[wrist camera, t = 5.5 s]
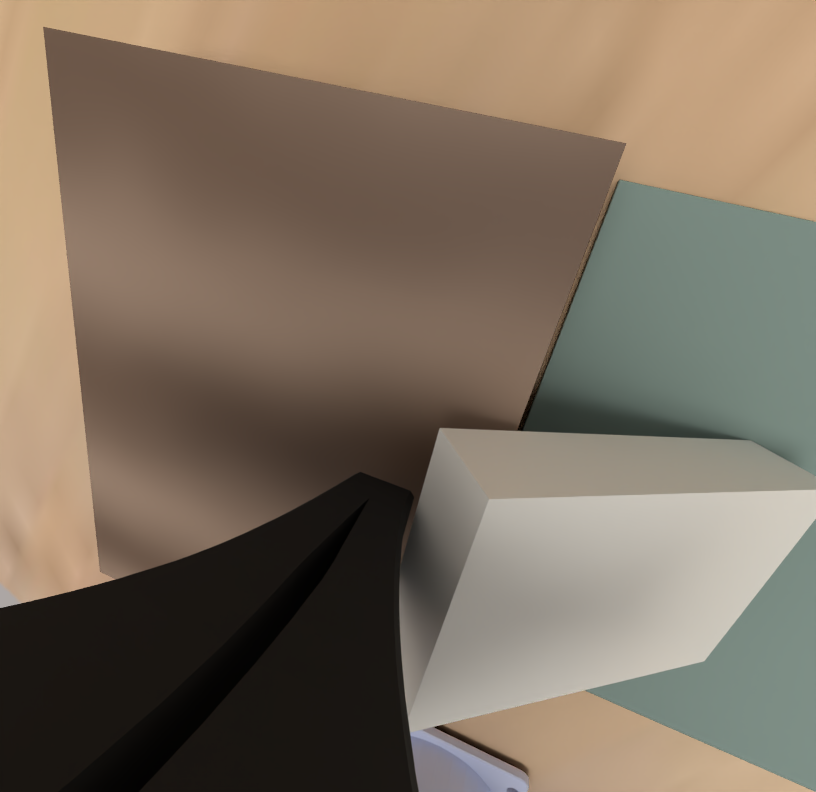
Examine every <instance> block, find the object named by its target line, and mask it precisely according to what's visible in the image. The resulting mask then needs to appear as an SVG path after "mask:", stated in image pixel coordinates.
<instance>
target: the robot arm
mask: <svg viewBox="0 0 816 792" xmlns="http://www.w3.org/2000/svg"><path fill="white" fill-rule="evenodd" d="M413 500H414V496H413V494H412V492H411V491H410V490H407V489H405V488H402V487H399V486H397V485H394V484H391V483H389V482H386V481H383V480H381V479H378V478H376V477H373V476H370V475H368V474H365V473H362V472H359V473H357V474H354V475H353V476H351V477H349V478H348V479H346V480H344V481H343V482H341V483H339V484H338V485H336V486H334V487H332V488H331V489H329V490H327V491H326V492H324V493H322V494H320V495H319V496H317V497H315V498H313V499H311V500H310V501H308V502H306V503H304V504H302V505H300V506H298V507H297V508H295V509H293V510H291V511H289V512H287V513H285V514H283V515H281V516H280V517H278V518H275V519H273V520H271V521H269V522H267V523H265V524H263V525H261V526H259V527H256V528H254V529H252V530H250V531H248V532H246V533H244V534H242V535H239V536H237V537H235V538H232V539H230V540H228V541H225V542H223V543H221V544H218V545H216V546H213V547H211V548H208V549H205V550H203V551H200V552H198V553H195V554H192V555H190V556H187V557H184V558H182V559H179V560H176V561H173V562H170V563H167V564H164V565H160V566H157V567H154V568H151V569H148V570H144V571H141V572H138V573H135V574H132V575H128V576H125V577H122V578H119V579H116V580H112V581H109V582H105V583H102V584H98V585H94V586H90V587H87V588H83V589H79V590H75V591H71V592H68V593H63V594H59V595H55V596H51V597H47V598H43V599H38V600H34V601H30V602H26V603H21V604H17V605H13V606H8V607H4V608H0V792H527V791H528V789H529V778H528V776H527V775H526V773H525V772H523V771H522V770H520V769H518V768H516V767H514V766H512V765H510V764H508V763H506V762H504V761H502V760H500V759H498V758H495V757H493V756H491V755H489V754H487V753H485V752H483V751H481V750H479V749H477V748H475V747H473V746H471V745H469V744H467V743H465V742H463V741H461V740H458V739H456V738H454V737H452V736H450V735H448V734H446V733H444V732H442V731H440V730H438V729H436V728H434V727H431V728H427V729H423V730H418V731H414V732H410V728H409V721H408V714H407V706H406V699H405V689H404V678H403V667H402V655H401V639H400V613H399V583H400V562H401V550H402V540H403V535H404V532H405V528H406V525H407V521H408V518H409V514H410V510H411V507H412V503H413Z"/></svg>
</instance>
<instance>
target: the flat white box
mask: <svg viewBox="0 0 816 792" xmlns="http://www.w3.org/2000/svg"><path fill="white" fill-rule="evenodd" d="M815 519H816V476H815V475H813V474H811V473H809V472H807V471H805V470H804V469H802V468H800V467H798V466H796V465H795V464H793V463H791V462H789V461H787V460H785V459H784V458H782V457H780V456H778V455H776V454H775V453H773V452H771V451H769V450H767V449H765V448H764V447H762V446H760V445H758V444H756V443H755V442H753V441H751V440H731V439H706V438H680V437H655V436H630V435H605V434H580V433H554V432H529V431H504V430H479V429H454V428H440V429H439V432H438V436H437V439H436V443H435V446H434V450H433V453H432V457H431V460H430V464H429V467H428V471H427V474H426V478H425V481H424V485H423V488H422V492H421V495H420V499H419V502H418V506H417V509H416V513H415V516H414V520H413V523H412V527H411V530H410V534H409V537H408V541H407V544H406V548H405V551H404V555H403V558H402V562H401V565H400V583H399V613H400V639H401V655H402V667H403V678H404V689H405V699H406V706H407V714H408V721H409V728H410V732H414V731H418V730H423V729H427V728H431V727H435V726H439V725H443V724H447V723H452V722H456V721H460V720H464V719H468V718H472V717H476V716H480V715H485V714H489V713H493V712H497V711H501V710H505V709H509V708H514V707H518V706H522V705H526V704H530V703H534V702H538V701H542V700H547V699H551V698H555V697H559V696H563V695H567V694H571V693H575V692H580V691H584V690H588V689H592V688H596V687H600V686H604V685H609V684H613V683H617V682H621V681H625V680H629V679H633V678H637V677H642V676H646V675H650V674H654V673H658V672H662V671H666V670H671V669H675V668H679V667H683V666H687V665H691V664H695V663H699V662H704V661H705V660H706V658H707V657H708V656H709V655H710V653H711V652H712V651H713V649H714V648H715V647H716V646H717V644H718V643H719V642H720V641H721V639H722V638H723V637H724V635H725V634H726V633H727V632H728V630H729V629H730V628H731V626H732V625H733V624H734V623H735V621H736V620H737V619H738V618H739V616H740V615H741V614H742V612H743V611H744V610H745V609H746V607H747V606H748V605H749V603H750V602H751V601H752V600H753V598H754V597H755V596H756V595H757V593H758V592H759V591H760V589H761V588H762V587H763V586H764V584H765V583H766V582H767V580H768V579H769V578H770V577H771V575H772V574H773V573H774V572H775V570H776V569H777V568H778V566H779V565H780V564H781V563H782V561H783V560H784V559H785V557H786V556H787V555H788V554H789V552H790V551H791V550H792V549H793V547H794V546H795V545H796V543H797V542H798V541H799V540H800V538H801V537H802V536H803V534H804V533H805V532H806V531H807V529H808V528H809V527H810V526H811V524H812V523H813V522H814V520H815Z"/></svg>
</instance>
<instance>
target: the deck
mask: <svg viewBox="0 0 816 792" xmlns="http://www.w3.org/2000/svg"><path fill="white" fill-rule="evenodd" d="M43 29H44V38H45V48H46V58H47V67H48V77H49V86H50V96H51V106H52V115H53V125H54V134H55V144H56V154H57V163H58V173H59V182H60V192H61V202H62V211H63V221H64V230H65V240H66V250H67V259H68V269H69V278H70V288H71V297H72V307H73V317H74V326H75V336H76V345H77V355H78V365H79V374H80V384H81V393H82V403H83V413H84V422H85V432H86V441H87V451H88V461H89V470H90V480H91V489H92V499H93V509H94V518H95V528H96V537H97V547H98V557H99V566H100V572H102V573H104V574H106V575H108V576H110V577H112V578H114V579H119V578H122V577H125V576H128V575H132V574H135V573H138V572H141V571H144V570H148V569H151V568H154V567H157V566H160V565H164V564H167V563H170V562H173V561H176V560H179V559H182V558H184V557H187V556H190V555H192V554H195V553H198V552H200V551H203V550H205V549H208V548H211V547H213V546H216V545H218V544H221V543H223V542H225V541H228V540H230V539H232V538H235V537H237V536H239V535H242V534H244V533H246V532H248V531H250V530H252V529H254V528H256V527H259V526H261V525H263V524H265V523H267V522H269V521H271V520H273V519H275V518H278V517H280V516H281V515H283V514H285V513H287V512H289V511H291V510H293V509H295V508H297V507H298V506H300V505H302V504H304V503H306V502H308V501H310V500H311V499H313V498H315V497H317V496H319V495H320V494H322V493H324V492H326V491H327V490H329V489H331V488H332V487H334V486H336V485H338V484H339V483H341V482H343V481H344V480H346V479H348V478H349V477H351V476H353V475H354V474H357V473H359V472H362V473H365V474H368V475H370V476H373V477H376V478H378V479H381V480H383V481H386V482H389V483H391V484H394V485H397V486H399V487H402V488H405V489H407V490H410V491H411V492H412V494H413V496H414V500H413V503H412V507H411V510H410V514H409V518H408V521H407V525H406V528H405V532H404V535H403V540H402V550H401V562H402V558H403V555H404V551H405V548H406V544H407V541H408V537H409V534H410V530H411V527H412V523H413V520H414V516H415V513H416V509H417V506H418V502H419V499H420V495H421V492H422V488H423V485H424V481H425V478H426V474H427V471H428V467H429V464H430V460H431V457H432V453H433V450H434V446H435V443H436V439H437V436H438V432H439V429H440V428H454V429H479V430H504V431H517V429H518V426H519V424H520V421H521V418H522V416H523V413H524V411H525V408H526V405H527V403H528V400H529V397H530V395H531V392H532V390H533V387H534V384H535V382H536V379H537V376H538V374H539V371H540V369H541V366H542V363H543V361H544V358H545V355H546V353H547V350H548V348H549V345H550V342H551V340H552V337H553V334H554V332H555V329H556V327H557V324H558V321H559V319H560V316H561V313H562V311H563V308H564V306H565V303H566V300H567V298H568V295H569V293H570V290H571V287H572V285H573V282H574V279H575V277H576V274H577V272H578V269H579V266H580V264H581V261H582V258H583V256H584V253H585V251H586V248H587V245H588V243H589V240H590V237H591V235H592V232H593V230H594V227H595V224H596V222H597V219H598V216H599V214H600V211H601V209H602V206H603V203H604V201H605V198H606V195H607V193H608V190H609V188H610V185H611V182H612V180H613V177H614V174H615V172H616V169H617V167H618V164H619V161H620V159H621V156H622V153H623V151H624V148H625V146H626V143H622V142H617V141H612V140H607V139H602V138H597V137H592V136H587V135H582V134H577V133H572V132H567V131H562V130H557V129H552V128H547V127H542V126H537V125H532V124H527V123H522V122H517V121H512V120H507V119H502V118H497V117H492V116H487V115H482V114H477V113H472V112H467V111H462V110H457V109H452V108H447V107H442V106H437V105H432V104H426V103H421V102H416V101H411V100H406V99H401V98H396V97H391V96H386V95H381V94H376V93H371V92H366V91H361V90H356V89H351V88H346V87H341V86H336V85H331V84H326V83H321V82H316V81H311V80H306V79H301V78H296V77H291V76H286V75H281V74H276V73H271V72H266V71H261V70H256V69H251V68H246V67H241V66H236V65H231V64H226V63H221V62H216V61H211V60H206V59H201V58H196V57H191V56H186V55H181V54H176V53H171V52H166V51H161V50H156V49H151V48H146V47H141V46H136V45H131V44H126V43H121V42H116V41H111V40H106V39H101V38H96V37H91V36H86V35H81V34H76V33H71V32H66V31H61V30H56V29H51V28H46V27H43ZM401 562H400V565H401Z"/></svg>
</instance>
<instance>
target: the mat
mask: <svg viewBox="0 0 816 792" xmlns="http://www.w3.org/2000/svg"><path fill="white" fill-rule="evenodd" d="M522 431H529V432H554V433H580V434H605V435H630V436H655V437H680V438H706V439H731V440H751V441H753V442H755V443H756V444H758V445H760V446H762V447H764V448H765V449H767V450H769V451H771V452H773V453H775V454H776V455H778V456H780V457H782V458H784V459H785V460H787V461H789V462H791V463H793V464H795V465H796V466H798V467H800V468H802V469H804V470H805V471H807V472H809V473H811V474H813V475H815V476H816V222H813V221H809V220H804V219H799V218H795V217H790V216H786V215H781V214H776V213H772V212H767V211H762V210H758V209H753V208H748V207H744V206H739V205H735V204H730V203H725V202H721V201H716V200H711V199H707V198H702V197H697V196H693V195H688V194H684V193H679V192H674V191H670V190H665V189H660V188H656V187H651V186H646V185H642V184H637V183H633V182H628V181H623V180H619V181H618V183H617V185H616V188H615V191H614V193H613V196H612V198H611V201H610V204H609V206H608V209H607V211H606V214H605V216H604V219H603V222H602V224H601V227H600V229H599V232H598V235H597V237H596V240H595V242H594V245H593V248H592V250H591V253H590V255H589V258H588V260H587V263H586V266H585V268H584V271H583V273H582V276H581V279H580V281H579V284H578V286H577V289H576V291H575V294H574V297H573V299H572V302H571V304H570V307H569V310H568V312H567V315H566V317H565V320H564V323H563V325H562V328H561V330H560V333H559V335H558V338H557V341H556V343H555V346H554V348H553V351H552V354H551V356H550V359H549V361H548V364H547V366H546V369H545V372H544V374H543V377H542V379H541V382H540V385H539V387H538V390H537V392H536V395H535V398H534V400H533V403H532V405H531V408H530V410H529V413H528V416H527V418H526V421H525V423H524V426H523V429H522ZM585 691H587V692H590V693H592V694H594V695H596V696H599V697H601V698H603V699H605V700H608V701H610V702H612V703H615V704H617V705H619V706H621V707H624V708H626V709H628V710H631V711H633V712H635V713H637V714H640V715H642V716H644V717H647V718H649V719H651V720H653V721H656V722H658V723H660V724H662V725H665V726H667V727H669V728H672V729H674V730H676V731H678V732H681V733H683V734H685V735H688V736H690V737H692V738H694V739H697V740H699V741H701V742H704V743H706V744H708V745H710V746H713V747H715V748H717V749H719V750H722V751H724V752H726V753H729V754H731V755H733V756H735V757H738V758H740V759H742V760H745V761H747V762H749V763H751V764H754V765H756V766H758V767H761V768H763V769H765V770H767V771H770V772H772V773H774V774H776V775H779V776H781V777H783V778H786V779H788V780H790V781H792V782H795V783H797V784H799V785H802V786H804V787H806V788H808V789H811V790H813V791H816V519H815V520H814V522H813V523H812V524H811V526H810V527H809V528H808V529H807V531H806V532H805V533H804V534H803V536H802V537H801V538H800V540H799V541H798V542H797V543H796V545H795V546H794V547H793V549H792V550H791V551H790V552H789V554H788V555H787V556H786V557H785V559H784V560H783V561H782V563H781V564H780V565H779V566H778V568H777V569H776V570H775V572H774V573H773V574H772V575H771V577H770V578H769V579H768V580H767V582H766V583H765V584H764V586H763V587H762V588H761V589H760V591H759V592H758V593H757V595H756V596H755V597H754V598H753V600H752V601H751V602H750V603H749V605H748V606H747V607H746V609H745V610H744V611H743V612H742V614H741V615H740V616H739V618H738V619H737V620H736V621H735V623H734V624H733V625H732V626H731V628H730V629H729V630H728V632H727V633H726V634H725V635H724V637H723V638H722V639H721V641H720V642H719V643H718V644H717V646H716V647H715V648H714V649H713V651H712V652H711V653H710V655H709V656H708V657H707V658H706V660H705V661H704V662H699V663H695V664H691V665H687V666H683V667H679V668H675V669H671V670H666V671H662V672H658V673H654V674H650V675H646V676H642V677H637V678H633V679H629V680H625V681H621V682H617V683H613V684H609V685H604V686H600V687H596V688H592V689H588V690H585Z"/></svg>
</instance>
